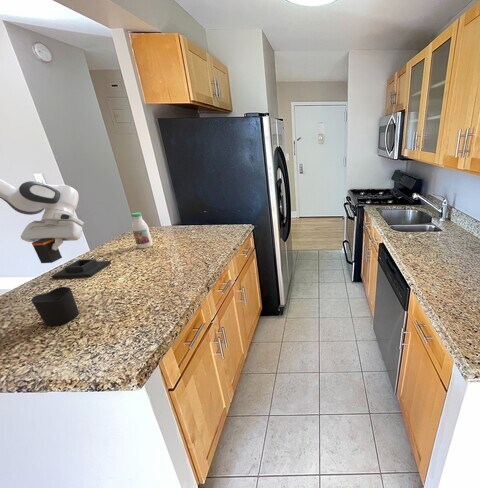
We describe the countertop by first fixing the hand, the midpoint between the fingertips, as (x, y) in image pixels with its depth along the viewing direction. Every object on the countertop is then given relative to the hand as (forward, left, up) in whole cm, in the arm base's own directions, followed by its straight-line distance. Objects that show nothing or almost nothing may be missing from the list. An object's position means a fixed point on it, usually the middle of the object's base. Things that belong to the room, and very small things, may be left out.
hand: (45, 250), depth 105 cm
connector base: (+2, +14, -17) cm, 22 cm away
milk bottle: (+22, +39, -17) cm, 48 cm away
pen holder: (+12, -28, -17) cm, 35 cm away
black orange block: (0, +1, -5) cm, 5 cm away
